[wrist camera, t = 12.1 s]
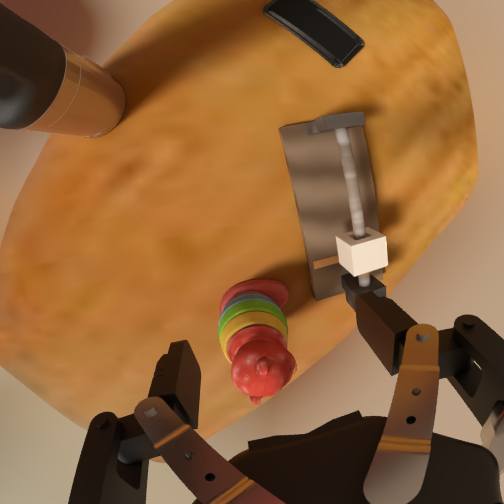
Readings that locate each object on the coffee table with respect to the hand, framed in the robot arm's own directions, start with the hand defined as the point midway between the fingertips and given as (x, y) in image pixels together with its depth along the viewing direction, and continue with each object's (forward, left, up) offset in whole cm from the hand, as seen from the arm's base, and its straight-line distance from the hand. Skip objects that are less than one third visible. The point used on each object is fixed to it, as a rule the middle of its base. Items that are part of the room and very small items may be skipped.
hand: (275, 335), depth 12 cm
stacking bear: (+14, -2, -28) cm, 32 cm away
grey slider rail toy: (+2, +14, -28) cm, 31 cm away
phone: (-27, +18, -29) cm, 43 cm away
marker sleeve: (+6, +14, -24) cm, 28 cm away
